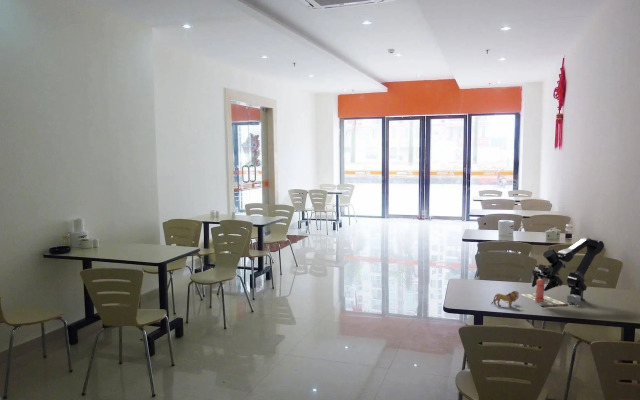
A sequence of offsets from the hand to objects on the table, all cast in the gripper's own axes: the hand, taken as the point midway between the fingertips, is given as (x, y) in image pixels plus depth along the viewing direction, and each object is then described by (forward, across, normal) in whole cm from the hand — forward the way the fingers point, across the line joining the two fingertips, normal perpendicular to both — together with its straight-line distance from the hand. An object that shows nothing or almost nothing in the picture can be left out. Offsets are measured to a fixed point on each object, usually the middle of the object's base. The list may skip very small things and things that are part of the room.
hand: (538, 288), depth 276 cm
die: (-7, +8, +19) cm, 22 cm away
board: (+2, -2, +10) cm, 10 cm away
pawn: (+4, 0, +6) cm, 7 cm away
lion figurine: (+22, -2, -9) cm, 23 cm away
